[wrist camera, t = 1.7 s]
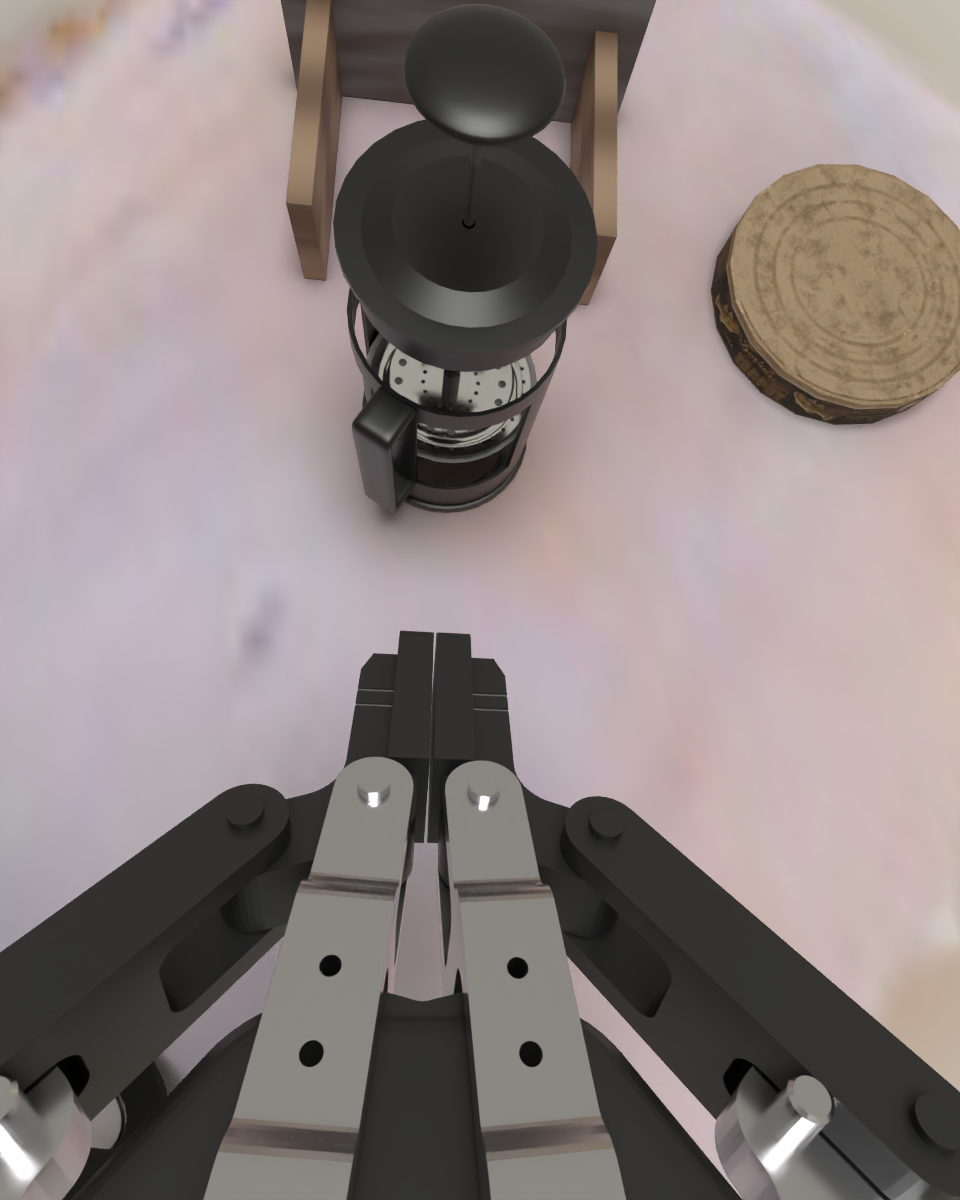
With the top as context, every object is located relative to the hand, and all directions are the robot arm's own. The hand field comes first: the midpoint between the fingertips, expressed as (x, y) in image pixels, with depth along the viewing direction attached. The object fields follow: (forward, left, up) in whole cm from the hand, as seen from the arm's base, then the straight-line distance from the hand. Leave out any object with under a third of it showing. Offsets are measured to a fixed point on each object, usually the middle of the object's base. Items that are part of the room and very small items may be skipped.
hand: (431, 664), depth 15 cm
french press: (-2, +15, -23) cm, 27 cm away
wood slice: (+20, +30, -23) cm, 43 cm away
